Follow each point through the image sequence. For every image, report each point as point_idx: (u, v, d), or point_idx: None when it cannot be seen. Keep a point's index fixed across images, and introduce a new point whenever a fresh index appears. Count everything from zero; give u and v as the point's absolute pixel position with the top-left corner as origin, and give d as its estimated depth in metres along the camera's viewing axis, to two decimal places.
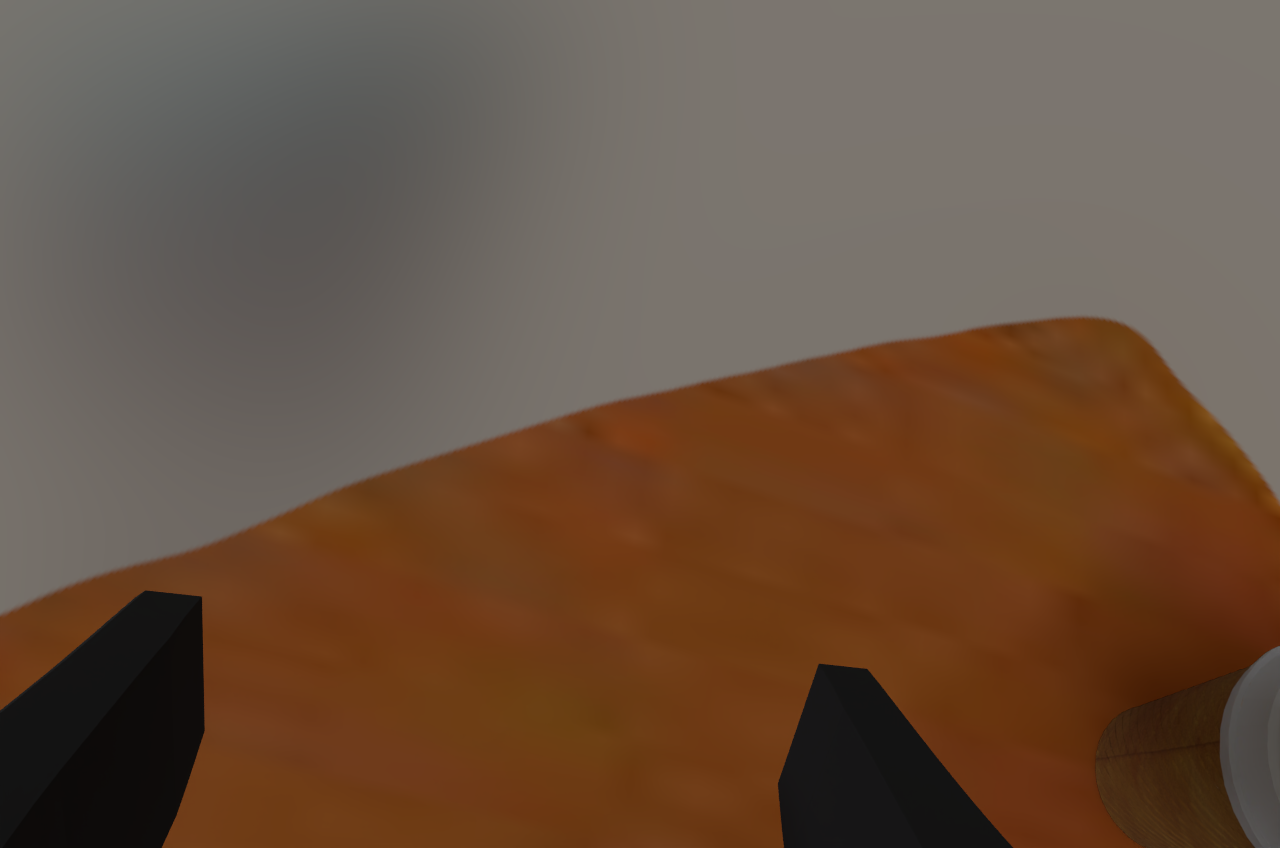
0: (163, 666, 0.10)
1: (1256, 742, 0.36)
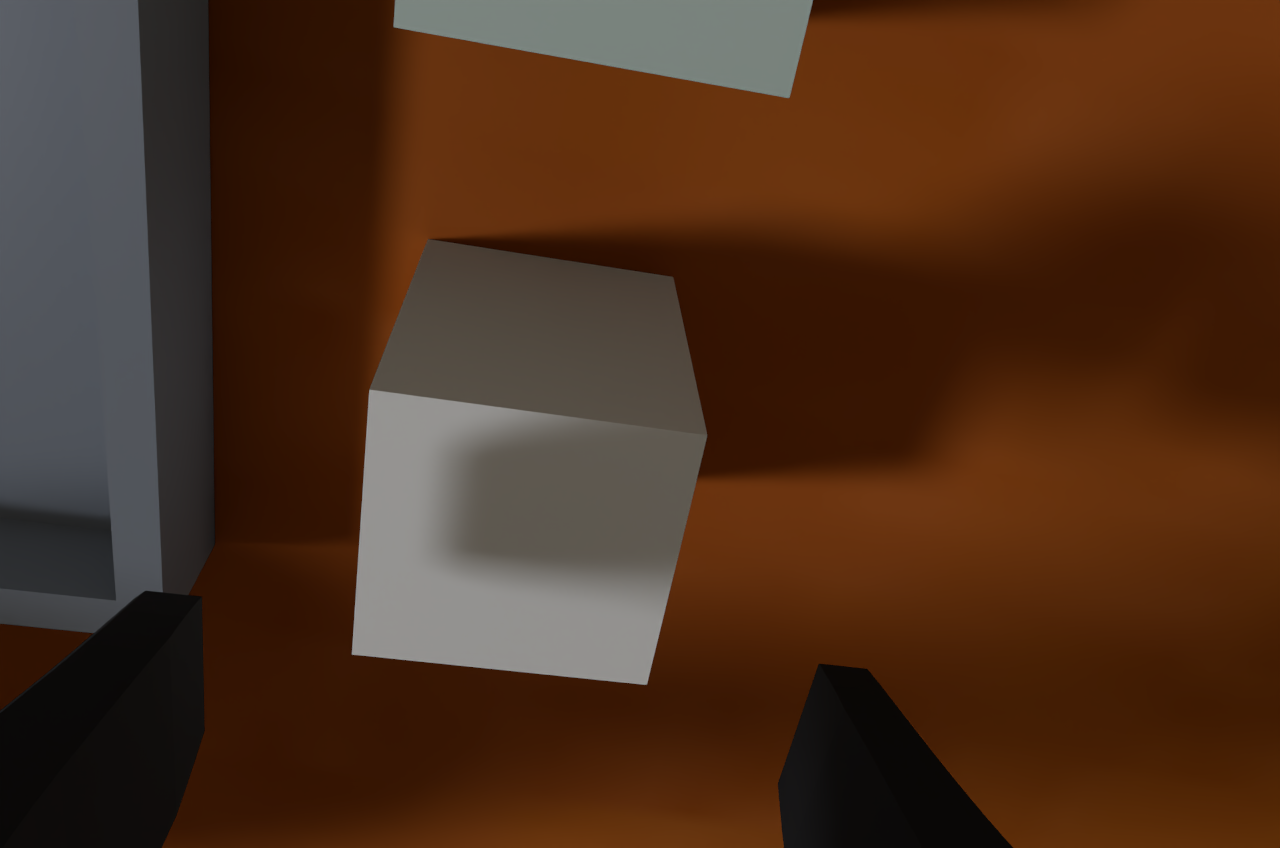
0: (164, 667, 0.10)
1: None
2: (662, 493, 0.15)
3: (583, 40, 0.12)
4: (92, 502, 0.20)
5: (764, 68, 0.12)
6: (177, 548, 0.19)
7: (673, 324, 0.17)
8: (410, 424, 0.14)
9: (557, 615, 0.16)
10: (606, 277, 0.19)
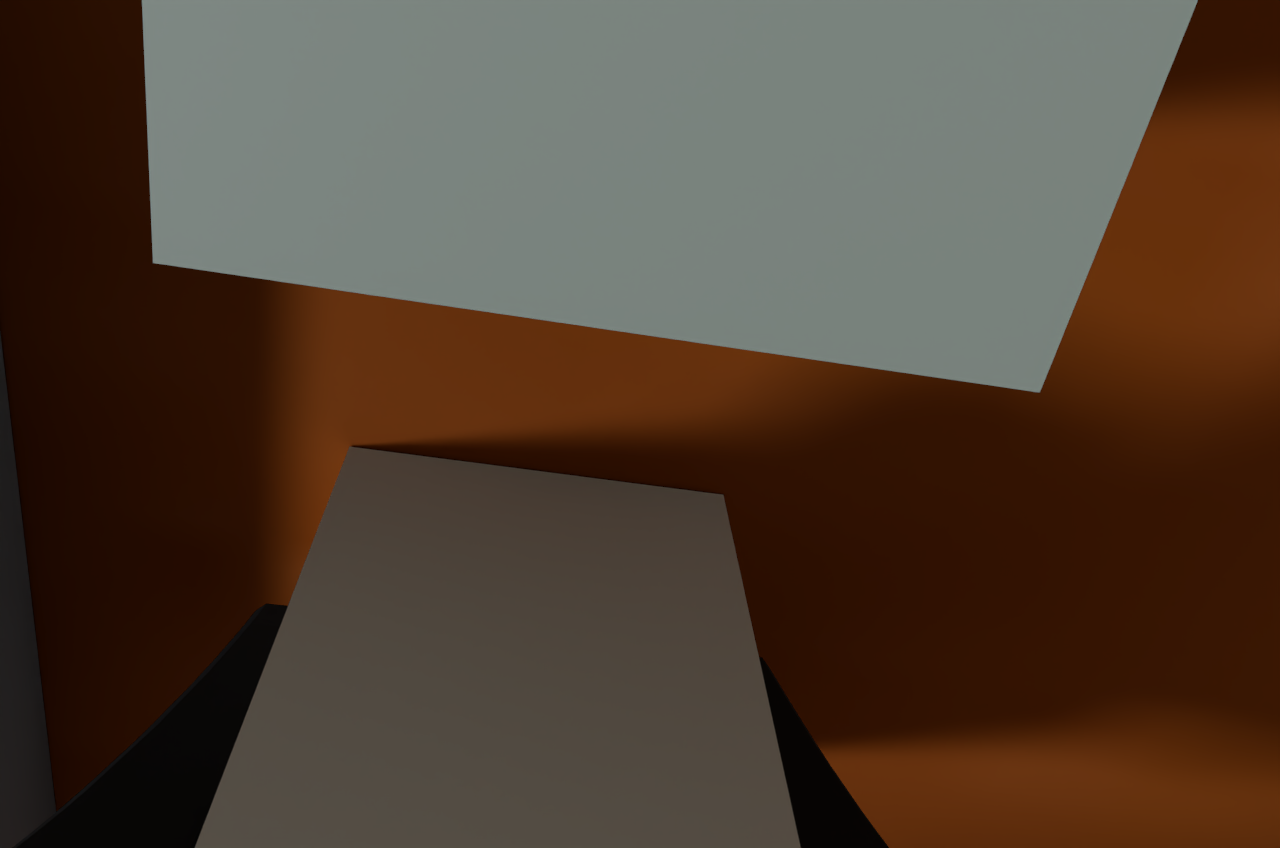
0: None
1: None
2: None
3: (591, 285, 0.05)
4: None
5: (992, 336, 0.05)
6: None
7: (733, 612, 0.11)
8: None
9: None
10: (623, 508, 0.12)
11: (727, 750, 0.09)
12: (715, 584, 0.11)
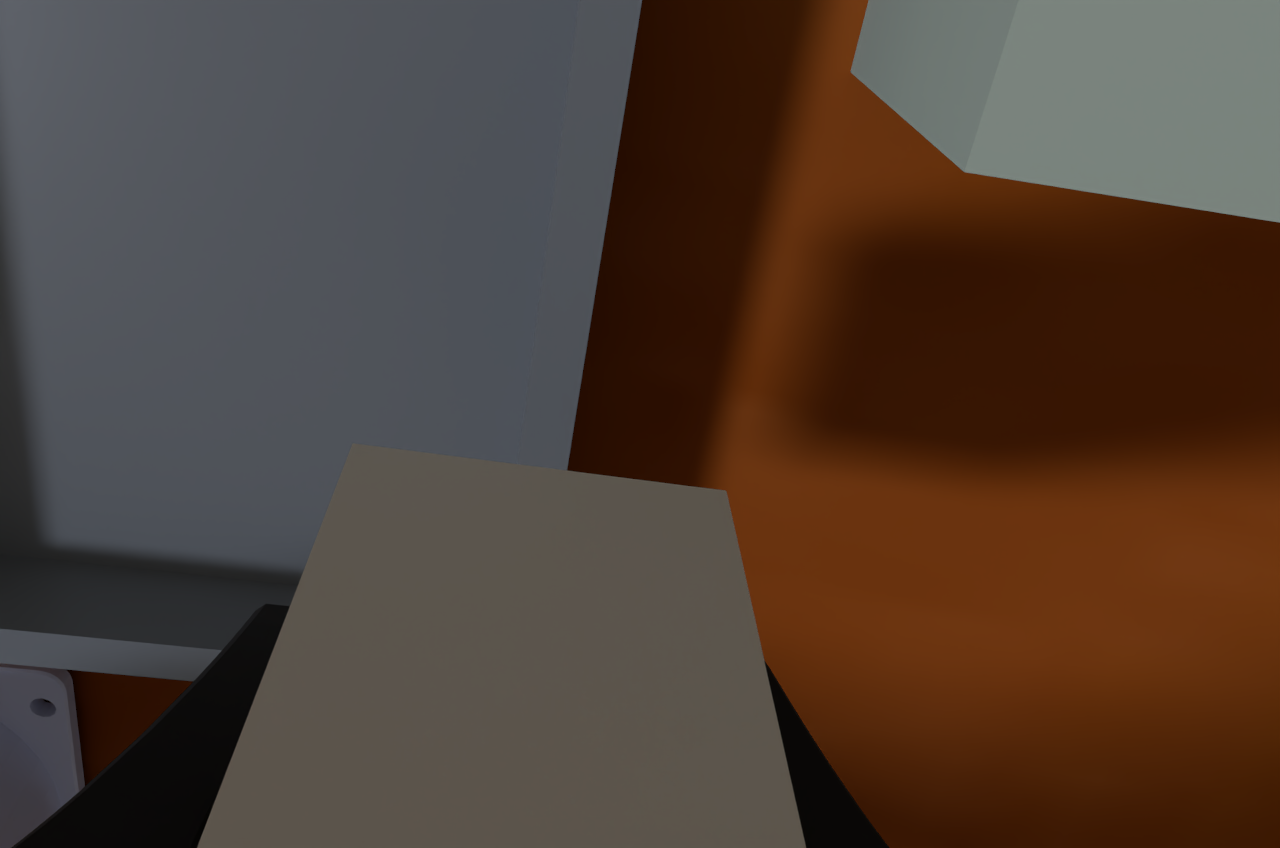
0: None
1: None
2: None
3: (1140, 180, 0.12)
4: None
5: None
6: None
7: (736, 607, 0.11)
8: None
9: None
10: (626, 504, 0.12)
11: (731, 744, 0.09)
12: (718, 579, 0.11)
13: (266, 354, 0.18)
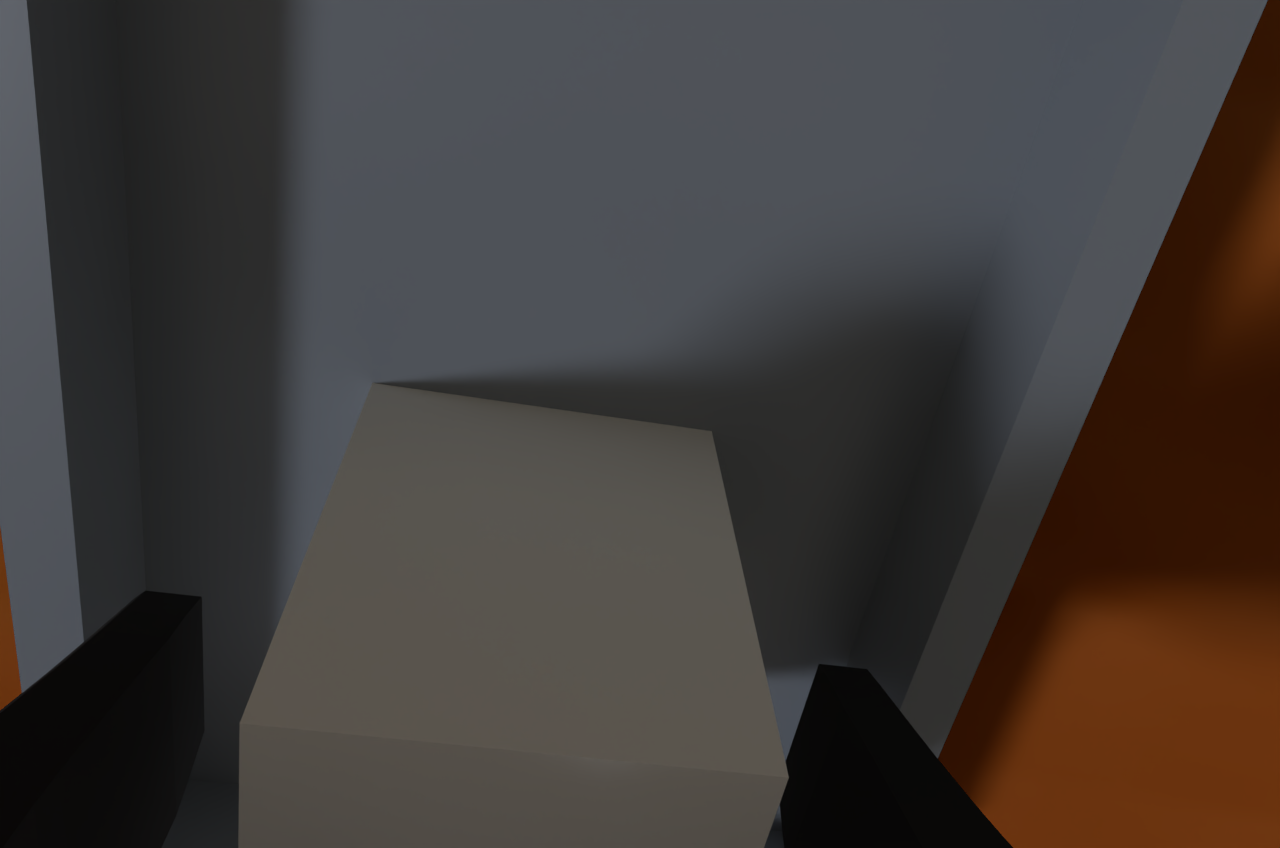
0: (163, 668, 0.10)
1: None
2: None
3: None
4: None
5: None
6: None
7: (718, 526, 0.12)
8: (310, 769, 0.09)
9: None
10: (620, 439, 0.13)
11: (711, 632, 0.10)
12: (703, 503, 0.12)
13: None
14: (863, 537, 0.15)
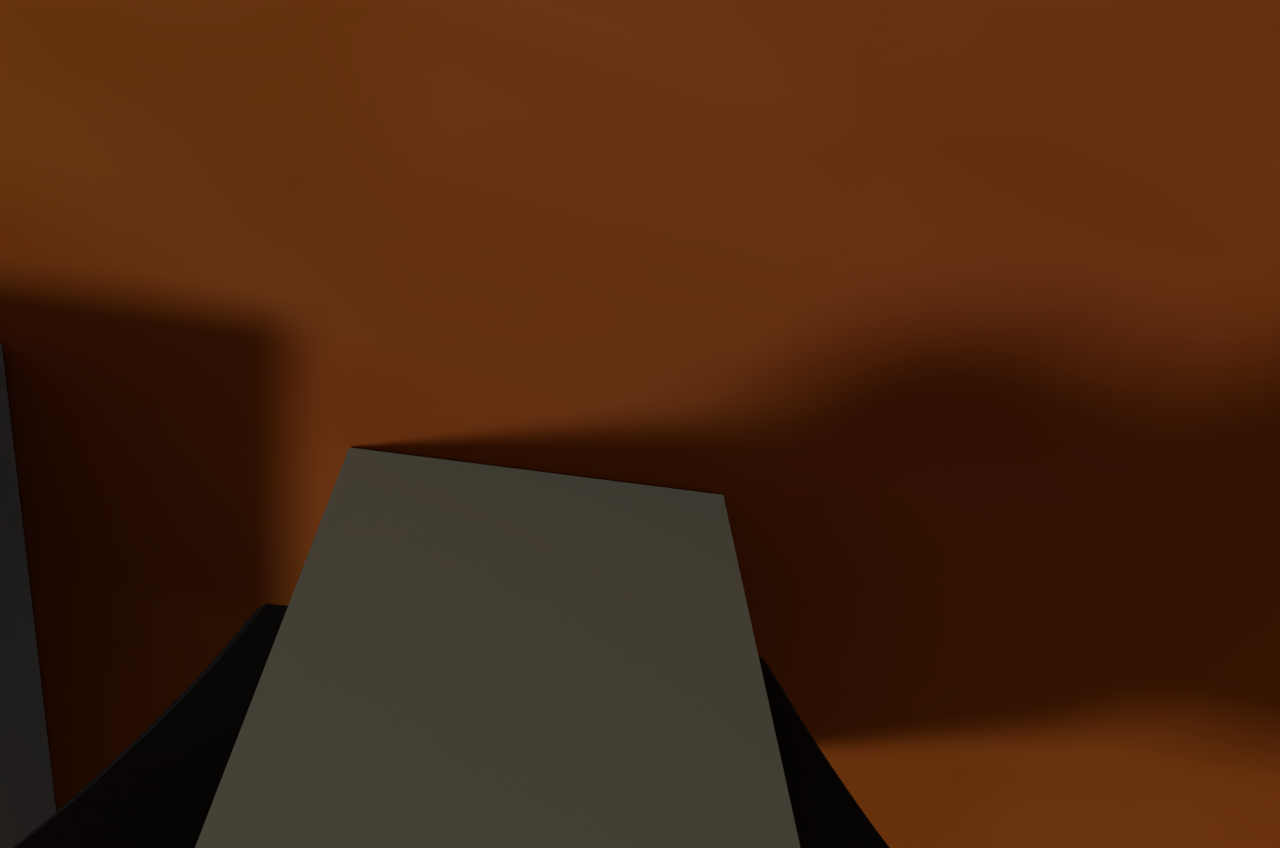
0: None
1: None
2: None
3: None
4: None
5: None
6: None
7: None
8: None
9: None
10: None
11: None
12: None
13: None
14: None
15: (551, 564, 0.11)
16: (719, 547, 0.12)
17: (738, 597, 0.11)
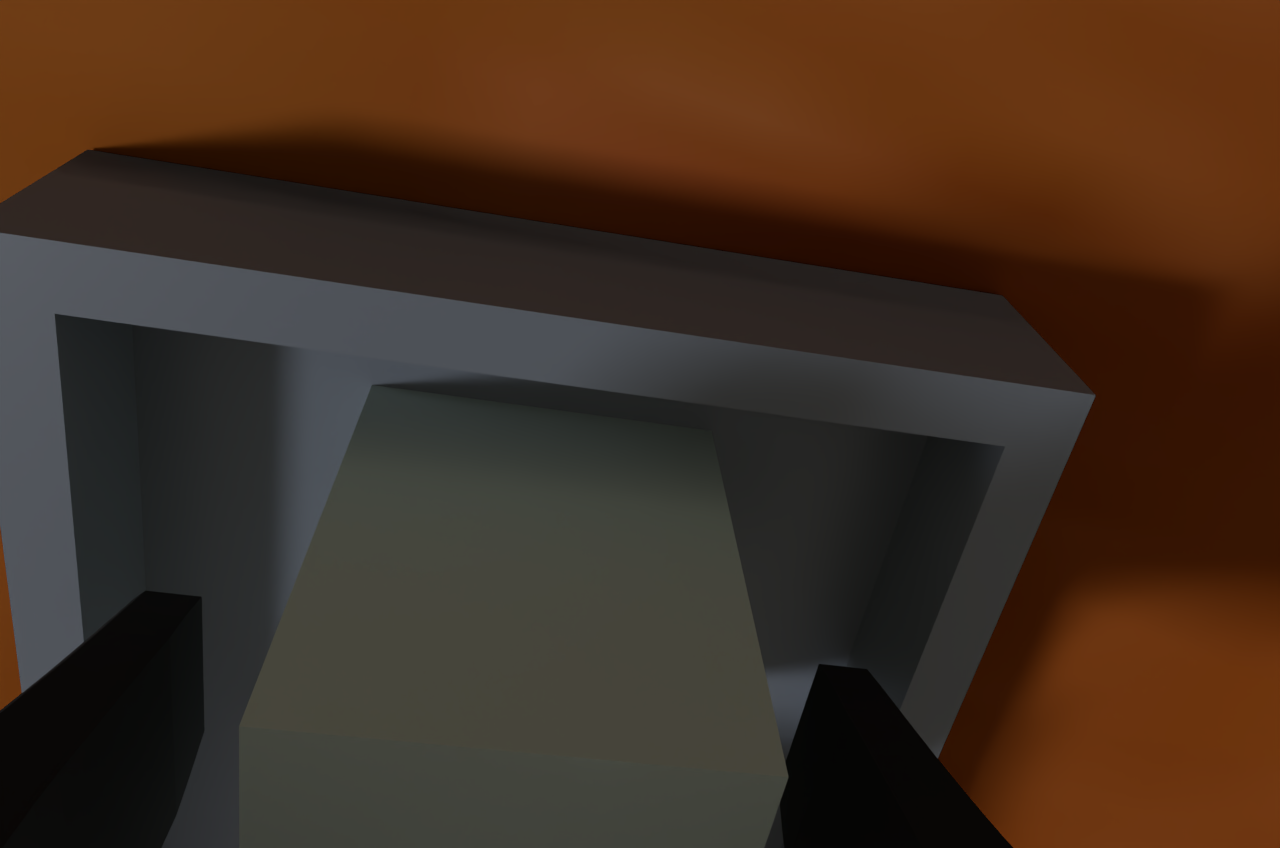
0: (163, 667, 0.10)
1: None
2: None
3: None
4: None
5: None
6: None
7: None
8: None
9: None
10: None
11: None
12: None
13: None
14: None
15: (555, 482, 0.12)
16: (707, 472, 0.13)
17: (723, 514, 0.12)
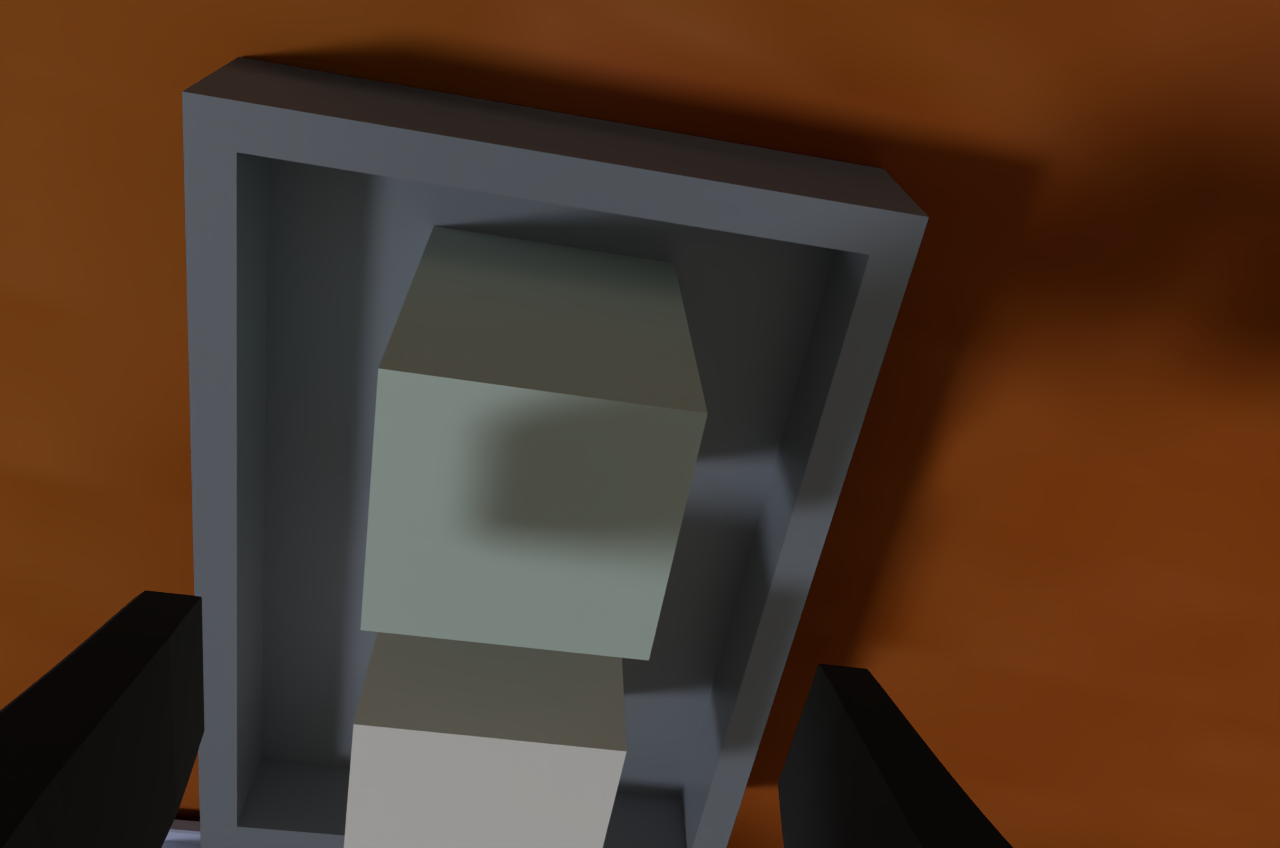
0: (163, 667, 0.10)
1: None
2: (592, 791, 0.18)
3: (497, 633, 0.16)
4: (640, 775, 0.26)
5: (629, 645, 0.16)
6: None
7: None
8: (386, 747, 0.17)
9: None
10: None
11: (597, 675, 0.19)
12: None
13: None
14: (716, 606, 0.24)
15: (563, 281, 0.18)
16: (669, 283, 0.19)
17: (679, 303, 0.18)
